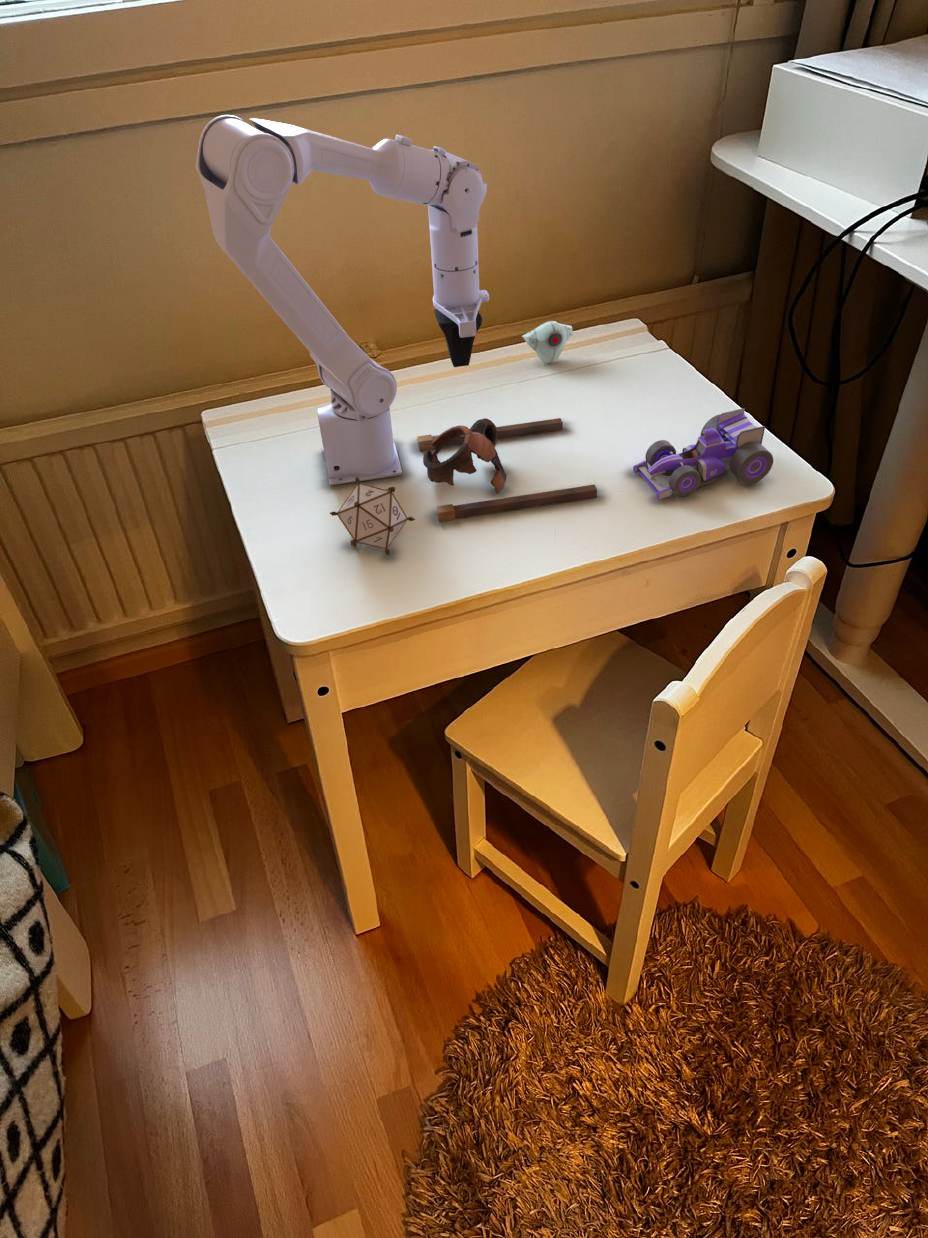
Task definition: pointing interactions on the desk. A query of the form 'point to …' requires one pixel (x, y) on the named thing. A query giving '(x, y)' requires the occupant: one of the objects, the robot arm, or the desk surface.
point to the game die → (372, 516)
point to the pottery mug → (466, 453)
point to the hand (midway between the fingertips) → (460, 363)
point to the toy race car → (709, 456)
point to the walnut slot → (517, 501)
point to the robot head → (548, 340)
